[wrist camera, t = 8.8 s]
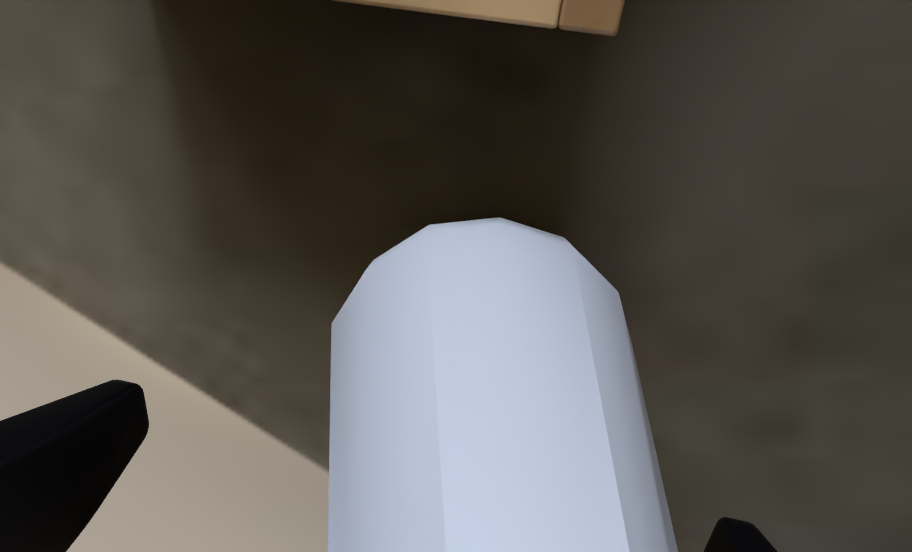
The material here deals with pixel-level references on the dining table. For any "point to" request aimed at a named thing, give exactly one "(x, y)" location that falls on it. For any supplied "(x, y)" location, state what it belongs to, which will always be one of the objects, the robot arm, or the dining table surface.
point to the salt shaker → (489, 403)
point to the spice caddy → (522, 12)
